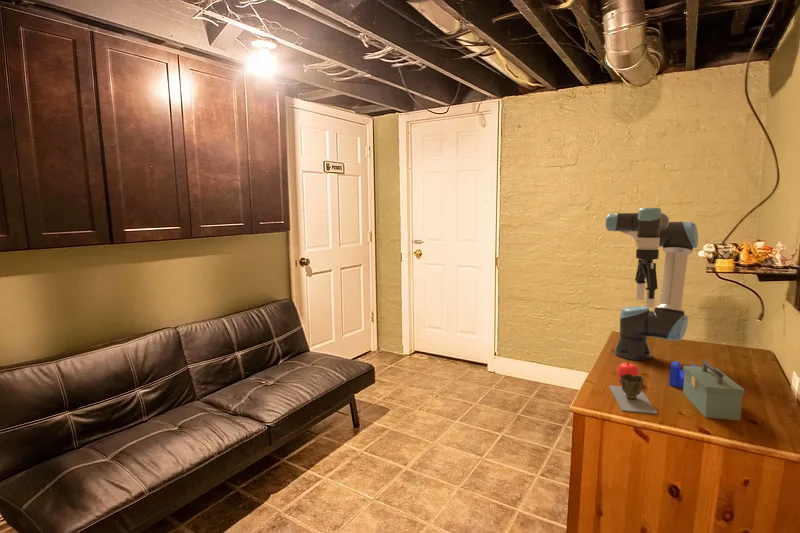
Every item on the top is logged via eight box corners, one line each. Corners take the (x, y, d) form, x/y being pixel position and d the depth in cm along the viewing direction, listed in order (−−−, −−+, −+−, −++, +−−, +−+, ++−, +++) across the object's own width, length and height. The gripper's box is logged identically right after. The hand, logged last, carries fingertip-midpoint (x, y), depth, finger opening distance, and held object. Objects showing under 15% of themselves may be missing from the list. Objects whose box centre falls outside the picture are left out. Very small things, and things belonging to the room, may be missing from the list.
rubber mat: (608, 386, 173) (608, 385, 172) (639, 389, 170) (639, 387, 170) (621, 411, 151) (622, 409, 151) (657, 414, 149) (657, 413, 149)
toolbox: (680, 392, 166) (683, 356, 164) (714, 395, 163) (717, 358, 161) (703, 417, 146) (706, 376, 144) (742, 421, 143) (745, 378, 141)
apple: (629, 386, 173) (630, 366, 172) (612, 379, 180) (612, 360, 179) (643, 382, 176) (644, 363, 175) (625, 376, 183) (626, 357, 182)
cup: (645, 397, 161) (646, 376, 160) (639, 404, 155) (640, 382, 154) (623, 392, 166) (624, 371, 165) (617, 398, 160) (618, 377, 159)
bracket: (693, 391, 167) (695, 368, 166) (669, 385, 173) (670, 363, 172) (703, 378, 180) (705, 356, 179) (680, 373, 186) (681, 352, 185)
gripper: (628, 246, 181) (626, 296, 183) (646, 251, 157) (643, 309, 159) (648, 246, 179) (646, 297, 181) (669, 251, 155) (666, 310, 157)
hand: (644, 303), depth 170 cm, fingers open, 13 cm apart
